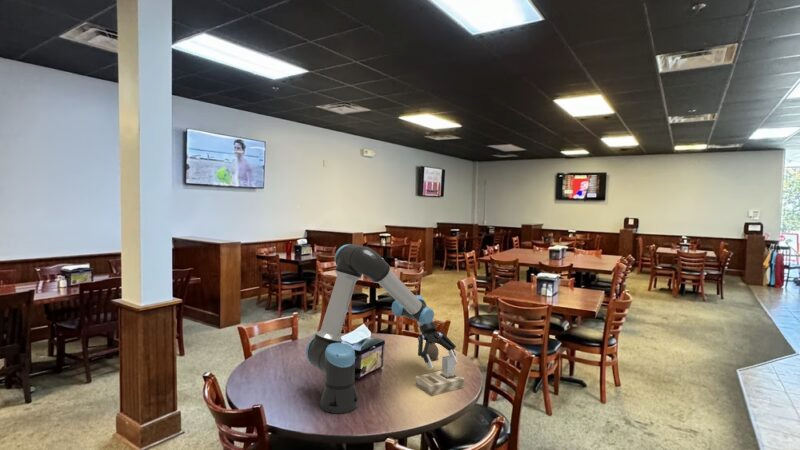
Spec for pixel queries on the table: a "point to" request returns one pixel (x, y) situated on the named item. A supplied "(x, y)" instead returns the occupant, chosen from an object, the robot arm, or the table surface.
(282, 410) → the table surface
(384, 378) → the table surface
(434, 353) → the dark grey egg
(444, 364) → the grey rectangular block
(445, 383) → the holder
